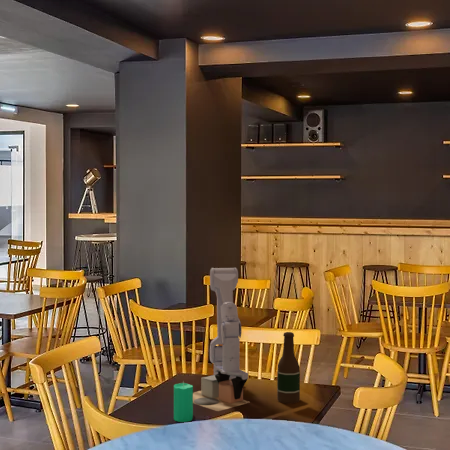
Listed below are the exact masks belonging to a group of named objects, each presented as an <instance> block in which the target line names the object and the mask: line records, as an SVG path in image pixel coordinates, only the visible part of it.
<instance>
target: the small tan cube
mask: <svg viewBox="0 0 450 450" xmlns="http://www.w3.org/2000/svg"><path fill="white" fill-rule="evenodd" d="M219 400H221V401H224V402H227V403H234V402H238V401H242V400H244V389H243V390H242V393H241V397H240V399H235V398H234V388H233V383H232V381H231V379H230V380H226V381H222V382H219Z"/></svg>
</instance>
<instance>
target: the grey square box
mask: <svg viewBox="0 0 450 450" xmlns="http://www.w3.org/2000/svg"><path fill="white" fill-rule="evenodd" d="M200 383H201V384H200V385H201V386H200V389H201V390H200V391H201V395H203V396H207V397H210V398H216V397H219V383H218V381H217V379H216V378H215V375H214V374H212V375H207V376H203V377H201V379H200Z"/></svg>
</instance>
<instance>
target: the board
mask: <svg viewBox="0 0 450 450" xmlns="http://www.w3.org/2000/svg"><path fill="white" fill-rule="evenodd" d="M249 403H251V401H249V400H245V399H243V400H242V401H238V402H234V403H227V402H224V401H221V400H219V397H216V398H210V397H207V396H203V395H201V390H198V391H193V405H197V406H200V407H202V408H206V409H209V410H212V411H215V412H221V411H224V410H228V409H232V408H235V407H239V406H242V405H246V404H249Z"/></svg>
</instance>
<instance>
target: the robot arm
mask: <svg viewBox="0 0 450 450" xmlns="http://www.w3.org/2000/svg"><path fill="white" fill-rule="evenodd" d="M209 283H210V284H209V287H210V290H211V291H212V292H215V295H216V324H217V325H216V326H217V327H216V328H217V330H216V331H217V332H216V333H217V336H216V337H214V338H213V339H212V340H211V341H210V343H209V361H210V362H211V364H213V375H215V378H216V379H217V381H218V383H219V382H222V381H226V380H230V379H231V381H232V383H233V388H234V398H235V399H240V397H241V393H242V390H243V391H244V386H245V385H246V383H247V381H248V379H249V373H248V372H246V371H244V370H242V369H240V350H241V349H240V346H241V345H240V343H241V341H240V339H241V337H242V323H241V321H240V318H239V315H238V307H237V304H236V303H234V293H233V291H235V290H236V287H237V285H238V283H239V271H238V268H237V267H219V268H218V267H215V268H214V267H211V268H210V270H209Z"/></svg>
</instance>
